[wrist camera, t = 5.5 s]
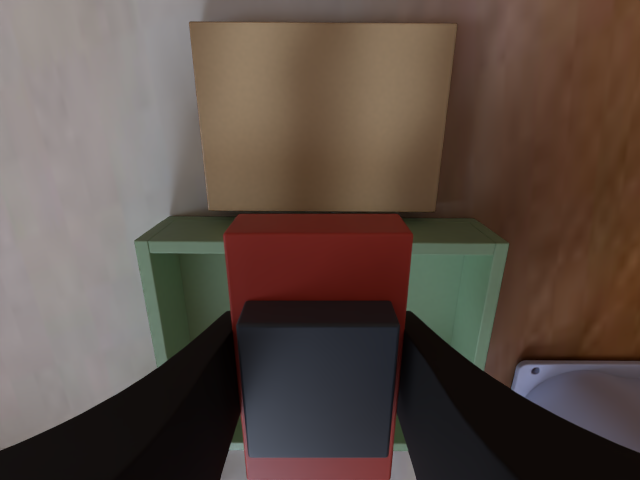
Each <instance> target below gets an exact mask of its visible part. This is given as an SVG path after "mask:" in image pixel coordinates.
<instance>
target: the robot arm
mask: <svg viewBox="0 0 640 480" xmlns="http://www.w3.org/2000/svg"><path fill="white" fill-rule="evenodd" d="M533 368H535V369H534V370H532V369H533ZM240 413H241V411H240V401H239V391H238V381H237V371H236V361H235V350H234V340H233V330H232V321H231V311H226V312H225V313H224V314H222V315H221V316H220V317H219V318H218V319H217V320H216V321H214V322H213V323H212V324H211V325H210V326H209V327H208V328H207V329H205V330H204V331H203V332H202V333H201V334H200V335H198V336H197V337H196V338H195V339H194V340H193V341H191V342H190V343H189V344H188V345H187V346H185V347H184V348H183V349H182V350H180V351H179V352H178V353H176V354H175V355H174V356H172V357H171V358H170V359H169V360H167V361H166V362H165V363H163V364H162V365H161V366H159V367H158V368H157V369H155V370H154V371H152V372H151V373H149V374H148V375H147V376H145V377H144V378H142V379H140V380H139V381H137V382H136V383H134V384H133V385H131V386H129V387H128V388H126V389H125V390H123V391H121V392H120V393H118V394H116V395H114V396H113V397H111V398H109V399H107V400H105V401H104V402H102V403H100V404H98V405H96V406H95V407H93V408H91V409H89V410H87V411H86V412H84V413H82V414H80V415H78V416H76V417H74V418H72V419H70V420H68V421H66V422H64V423H62V424H60V425H58V426H56V427H54V428H51V429H49V430H47V431H45V432H43V433H40V434H38V435H36V436H34V437H32V438H30V439H27V440H25V441H23V442H20V443H18V444H16V445H13V446H11V447H8V448H6V449H3V450H1V451H0V480H220V478H221V474H222V471H223V467H224V464H225V461H226V458H227V455H228V451H229V448H230V445H231V442H232V439H233V435H234V432H235V429H236V426H237V423H238V420H239V416H240ZM397 416H398V419H399V422H400V426H401V429H402V432H403V435H404V439H405V442H406V445H407V448H408V452H409V455H410V458H411V461H412V465H413V468H414V472H415V475H416V479H417V480H640V361H567V360H524V361H521V362H519V363H518V364H517V366H516V370H515V375H514V379H513V383H512V387H511V389H510V388H508V387H507V386H505V385H504V384H502V383H501V382H499V381H497V380H496V379H494V378H493V377H491V376H490V375H488V374H487V373H485V372H484V371H483V370H481V369H480V368H479V367H477V366H476V365H475V364H473V363H472V362H471V361H469V360H468V359H467V358H465V357H464V356H463V355H461V354H460V353H459V352H458V351H456V350H455V349H454V348H453V347H451V346H450V345H449V344H448V343H447V342H446V341H444V340H443V339H442V338H441V337H440V336H439V335H437V334H436V333H435V332H434V331H433V330H432V329H431V328H430V327H428V326H427V325H426V324H425V323H424V322H423V321H422V320H421V319H420V318H418V317H417V316H416V315H415V314H414V313H413V312H411V311H406V319H405V329H404V339H403V349H402V360H401V370H400V381H399V392H398V402H397Z"/></svg>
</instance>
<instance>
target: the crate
mask: <svg viewBox="0 0 640 480" xmlns="http://www.w3.org/2000/svg"><path fill="white" fill-rule="evenodd" d="M235 218H236V217H183V216H169V217H168V218H166V219H165V220H164V221H161V222H160V223H159V224H157V225H156V226H154V227H153V228H152V229H150V230H149V231H147V232H146V233H145V234H143V235H142V236H140V237H139V238H137V239H136V240H135V241H134V243H135V248H136V254H137V259H138V265H139V270H140V276H141V281H142V287H143V292H144V298H145V303H146V309H147V314H148V320H149V325H150V331H151V336H152V342H153V347H154V353H155V358H156V364H157V368H158V367H159V366H161V365H162V364H163V363H165V362H166V361H167V360H169V359H170V358H171V357H172V356H174V355H175V354H176V353H178V352H179V351H180V350H182V349H183V348H184V347H185V346H187V345H188V344H189V343H190V342H191V341H193V340H194V339H195V338H196V337H197V336H198V335H200V334H201V333H202V332H203V331H204V330H205V329H207V328H208V327H209V326H210V325H211V324H212V323H213V322H214V321H216V320H217V319H218V318H219V317H220V316H221V315H222V314H224V313H225V312H226V311H230V301H229V291H228V281H227V271H226V260H225V250H224V240H223V234H224V232H225V231H226V230H227V228H228V227H229V226H230V225H231V223H232V222H233V221H234V219H235ZM402 220H403V221H404V222H405V224H406V225H407V226H408V228H409V229H410V230H411V232H412V233H413V244H412V255H411V265H410V276H409V287H408V297H407V308H406V311H411V312H413V313H414V314H415V315H416V316H417V317H418V318H420V319H421V320H422V321H423V322H424V323H425V324H426V325H427V326H428V327H430V328H431V329H432V330H433V331H434V332H435V333H436V334H437V335H439V336H440V337H441V338H442V339H443V340H444V341H446V342H447V343H448V344H449V345H450V346H451V347H453V348H454V349H455V350H456V351H458V352H459V353H460V354H461V355H463V356H464V357H465V358H467V359H468V360H469V361H471V362H472V363H473V364H475V365H476V366H477V367H479V368H480V369H481V370H483V371H484V368H485V363H486V358H487V353H488V348H489V343H490V338H491V333H492V328H493V323H494V318H495V313H496V308H497V303H498V298H499V293H500V288H501V283H502V278H503V273H504V268H505V263H506V257H507V252H508V247H509V243H508V242H507V241H505V240H504V239H503V238H501V237H500V236H498V235H497V234H496V233H494V232H493V231H491V230H490V229H489V228H487V227H486V226H484V225H483V224H482V223H480V222H478V221H477V220H475V219H474V218H402ZM229 450H244V443H243V433H242V423H241V413H240V416H239V420H238V423H237V426H236V429H235V432H234V435H233V439H232V442H231V445H230V448H229ZM393 451H408V448H407V445H406V442H405V439H404V435H403V432H402V429H401V426H400V422H399V419H398V416H397V414H396V425H395V435H394V446H393Z"/></svg>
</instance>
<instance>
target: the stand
mask: <svg viewBox="0 0 640 480" xmlns="http://www.w3.org/2000/svg"><path fill="white" fill-rule="evenodd" d="M457 26H458V25H457V23H334V22H189V27H190V37H191V46H192V56H193V66H194V76H195V85H196V95H197V105H198V114H199V124H200V134H201V143H202V153H203V163H204V172H205V182H206V192H207V201H208V210H209V211H330V212H435V209H436V201H437V192H438V184H439V176H440V167H441V159H442V151H443V142H444V134H445V126H446V117H447V109H448V101H449V92H450V84H451V76H452V67H453V59H454V51H455V42H456V34H457Z"/></svg>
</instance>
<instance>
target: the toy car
mask: <svg viewBox="0 0 640 480" xmlns="http://www.w3.org/2000/svg"><path fill="white" fill-rule="evenodd" d="M223 240H224V250H225V260H226V271H227V281H228V291H229V301H230V311H231V321H232V330H233V340H234V350H235V361H236V371H237V381H238V391H239V401H240V411H241V423H242V433H243V443H244V453H245V463H246V473H247V479H248V480H390V477H391V467H392V456H393V446H394V435H395V425H396V414H397V402H398V392H399V381H400V370H401V360H402V349H403V339H404V329H405V319H406V308H407V297H408V287H409V276H410V265H411V255H412V244H413V233H412V232H411V230H410V229H409V228H408V226H407V225H406V224H405V222H404V221H403V220H402V218H401V217H400V216H399V215H398V214H239V215H237V217H236V218H235V219H234V221H233V222H232V223H231V225H230V226H229V227H228V228H227V230H226V231H225V232H224V234H223Z"/></svg>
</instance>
